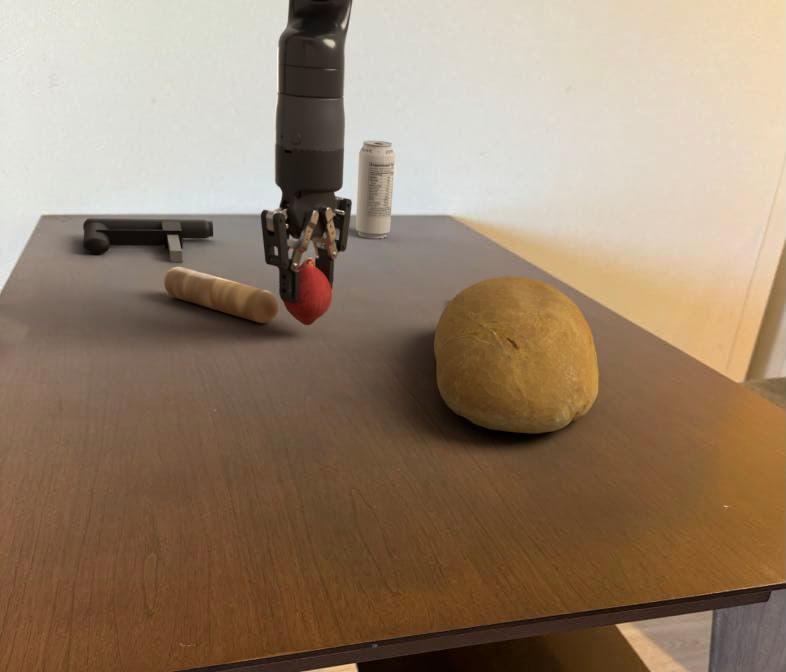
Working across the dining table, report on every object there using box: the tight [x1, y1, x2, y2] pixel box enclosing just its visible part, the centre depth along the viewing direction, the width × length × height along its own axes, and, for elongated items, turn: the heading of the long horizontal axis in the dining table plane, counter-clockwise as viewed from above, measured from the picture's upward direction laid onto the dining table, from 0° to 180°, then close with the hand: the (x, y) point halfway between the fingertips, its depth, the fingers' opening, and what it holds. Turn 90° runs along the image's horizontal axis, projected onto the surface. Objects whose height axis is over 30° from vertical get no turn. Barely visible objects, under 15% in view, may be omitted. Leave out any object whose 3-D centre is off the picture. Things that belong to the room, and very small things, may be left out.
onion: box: [282, 256, 333, 326], centre depth 101 cm, size 6×6×8 cm
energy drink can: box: [355, 140, 396, 240], centre depth 146 cm, size 6×6×15 cm
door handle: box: [82, 217, 214, 263], centre depth 132 cm, size 3×20×16 cm
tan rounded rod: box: [163, 266, 280, 324], centre depth 108 cm, size 18×4×4 cm, turn 57°
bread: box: [433, 275, 599, 434], centre depth 93 cm, size 18×35×10 cm, turn 178°
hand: (306, 295), depth 101 cm, fingers closed on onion, 6 cm apart
